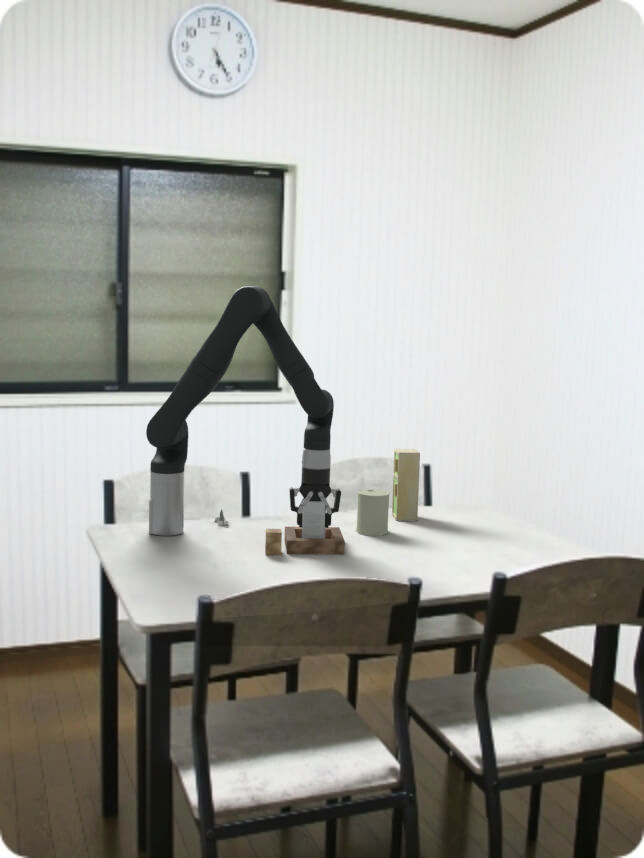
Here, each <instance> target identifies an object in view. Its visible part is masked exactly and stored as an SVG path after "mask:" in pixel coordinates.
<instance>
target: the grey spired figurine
mask: <svg viewBox="0 0 644 858" xmlns="http://www.w3.org/2000/svg"><path fill="white" fill-rule="evenodd" d="M215 521H219V522H217V526H218V525H219V526H229V525H228V524H229V523H230V522H229V521H228V520H227V519H226V517H225V516H224V510H223V509H222V508H221V509H220V512H219V516H218V517H217V516H216V517H215V518H214V522H215ZM226 524H227V525H226Z"/></svg>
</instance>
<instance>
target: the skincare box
mask: <svg viewBox="0 0 644 858" xmlns="http://www.w3.org/2000/svg"><path fill="white" fill-rule="evenodd" d="M303 501H304V500H303ZM305 503H306V502H305ZM326 513H327V511H326V509H325V502H322V501H309V502H307V505H306V507H305V506H303V507H302V538H317V539H325V521H326Z"/></svg>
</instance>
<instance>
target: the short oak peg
mask: <svg viewBox="0 0 644 858" xmlns="http://www.w3.org/2000/svg"><path fill="white" fill-rule="evenodd" d="M282 536H283V532H282V528H265V544H264V545H265V546H264V547H265V548H264V549H265V551H264V554H265V556H282Z"/></svg>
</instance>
